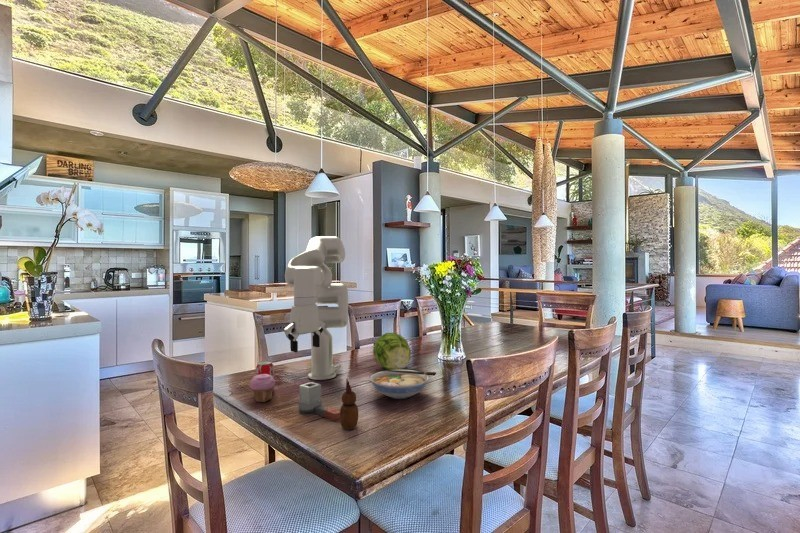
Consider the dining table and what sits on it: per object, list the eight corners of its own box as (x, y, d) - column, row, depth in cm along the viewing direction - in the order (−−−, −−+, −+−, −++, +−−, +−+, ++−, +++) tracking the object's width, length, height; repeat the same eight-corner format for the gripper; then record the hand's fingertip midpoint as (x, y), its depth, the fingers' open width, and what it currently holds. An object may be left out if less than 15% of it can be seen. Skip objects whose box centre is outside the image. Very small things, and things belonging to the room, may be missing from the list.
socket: (311, 398, 148) (311, 381, 148) (321, 401, 145) (320, 384, 145) (299, 402, 144) (299, 385, 144) (309, 405, 141) (308, 388, 141)
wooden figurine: (340, 423, 132) (340, 377, 132) (358, 422, 132) (358, 376, 132) (339, 432, 125) (338, 383, 125) (358, 431, 126) (357, 382, 125)
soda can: (268, 395, 160) (268, 365, 160) (252, 394, 162) (251, 364, 161) (277, 390, 167) (277, 360, 167) (261, 389, 168) (261, 360, 168)
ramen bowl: (357, 402, 152) (357, 380, 152) (380, 384, 174) (380, 365, 173) (422, 410, 144) (421, 386, 143) (438, 390, 165) (438, 370, 165)
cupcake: (264, 405, 149) (264, 378, 149) (245, 403, 152) (244, 376, 152) (279, 398, 157) (279, 372, 157) (261, 395, 160) (260, 370, 160)
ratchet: (312, 404, 150) (312, 383, 150) (348, 416, 138) (347, 393, 138) (293, 410, 144) (293, 388, 144) (329, 423, 132) (329, 399, 132)
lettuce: (380, 378, 184) (389, 342, 182) (366, 359, 205) (373, 326, 204) (415, 381, 190) (423, 346, 189) (397, 362, 212) (405, 330, 210)
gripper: (317, 298, 156) (317, 343, 156) (277, 303, 143) (278, 352, 143) (330, 300, 151) (330, 346, 152) (291, 304, 138) (291, 355, 138)
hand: (305, 349), depth 147 cm, fingers open, 9 cm apart
